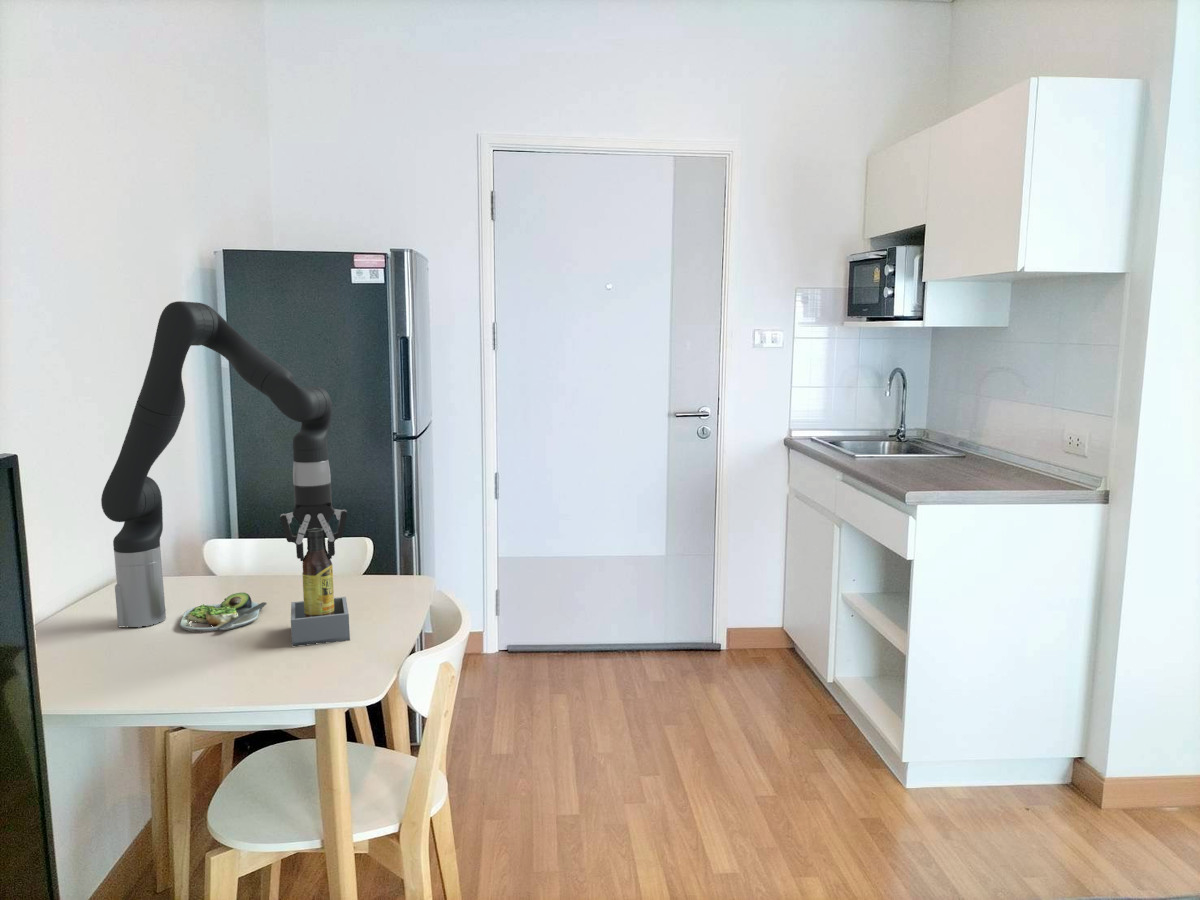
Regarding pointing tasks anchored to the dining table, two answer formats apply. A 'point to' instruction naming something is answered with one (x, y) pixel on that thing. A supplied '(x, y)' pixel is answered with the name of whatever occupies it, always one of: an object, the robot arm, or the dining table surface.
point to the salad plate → (223, 614)
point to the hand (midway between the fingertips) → (316, 558)
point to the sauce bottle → (317, 576)
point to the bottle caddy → (320, 624)
